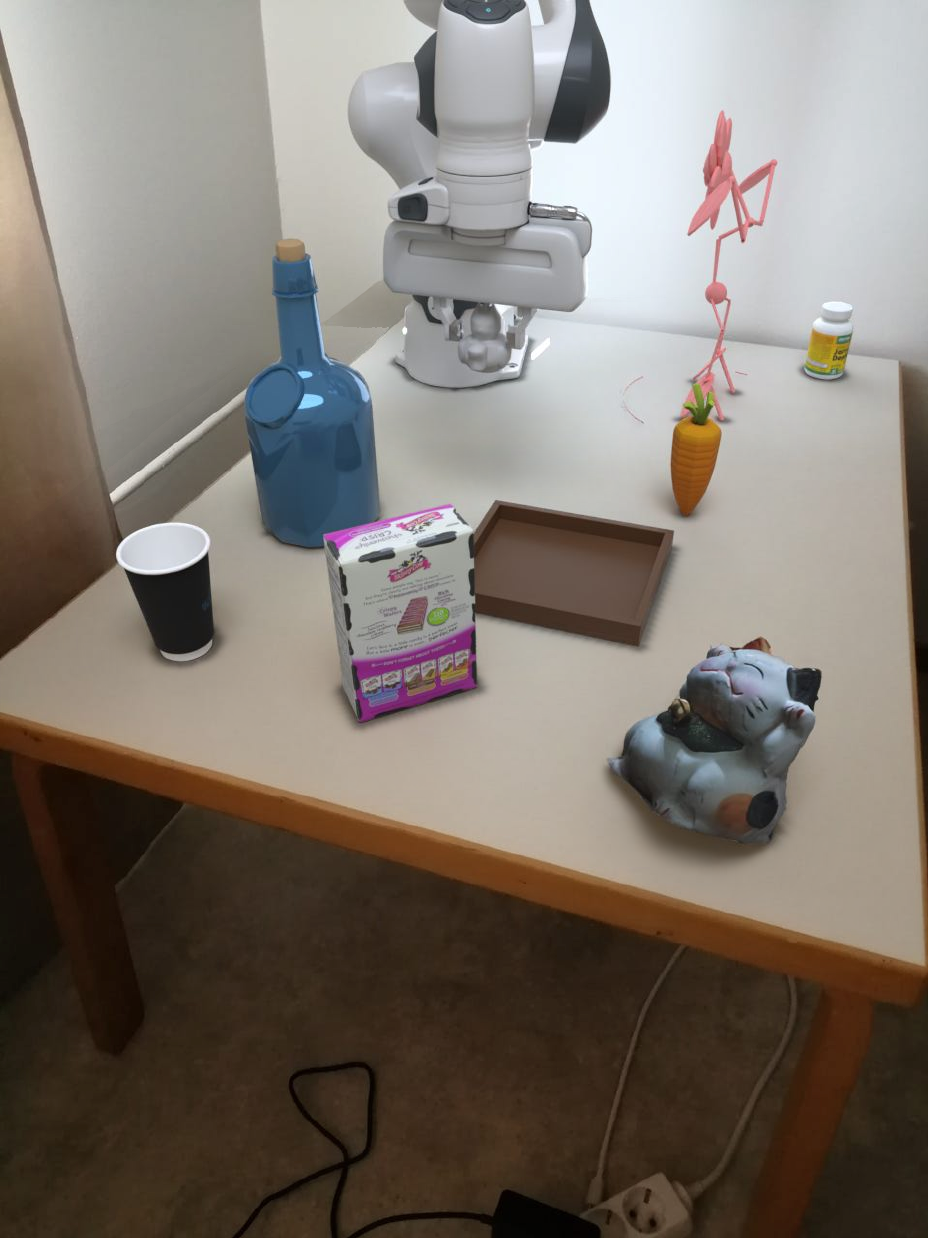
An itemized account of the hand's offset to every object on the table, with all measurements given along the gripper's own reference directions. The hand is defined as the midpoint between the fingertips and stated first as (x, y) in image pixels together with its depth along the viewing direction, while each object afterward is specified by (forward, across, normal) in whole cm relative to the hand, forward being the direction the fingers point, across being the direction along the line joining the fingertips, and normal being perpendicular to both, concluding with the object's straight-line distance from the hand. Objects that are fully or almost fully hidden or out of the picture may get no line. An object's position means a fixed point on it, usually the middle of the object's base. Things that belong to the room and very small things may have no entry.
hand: (484, 343), depth 99 cm
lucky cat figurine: (+19, -30, +35) cm, 50 cm away
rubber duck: (+3, 0, 0) cm, 3 cm away
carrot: (+19, -22, -5) cm, 30 cm away
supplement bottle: (+19, -34, -50) cm, 63 cm away
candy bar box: (+19, -4, +32) cm, 37 cm away
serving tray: (+19, -12, +11) cm, 25 cm away
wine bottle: (+19, +16, +9) cm, 27 cm away
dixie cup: (+19, +18, +33) cm, 42 cm away
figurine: (+19, -16, -35) cm, 43 cm away
